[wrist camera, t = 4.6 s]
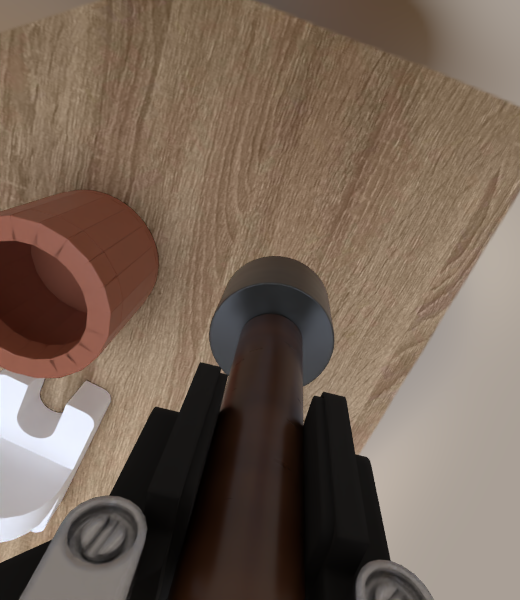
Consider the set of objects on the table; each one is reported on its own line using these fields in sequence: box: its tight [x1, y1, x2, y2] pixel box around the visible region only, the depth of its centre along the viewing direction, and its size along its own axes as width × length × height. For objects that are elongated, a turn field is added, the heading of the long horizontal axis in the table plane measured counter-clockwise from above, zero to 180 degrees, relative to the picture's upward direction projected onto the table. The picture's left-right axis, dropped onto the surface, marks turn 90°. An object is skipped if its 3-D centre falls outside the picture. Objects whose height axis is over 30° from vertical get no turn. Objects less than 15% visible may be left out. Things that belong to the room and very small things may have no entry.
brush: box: [167, 256, 334, 600], centre depth 12 cm, size 4×4×13 cm
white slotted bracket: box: [0, 369, 111, 542], centre depth 39 cm, size 10×18×11 cm, turn 151°
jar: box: [0, 190, 159, 378], centre depth 31 cm, size 11×11×10 cm
